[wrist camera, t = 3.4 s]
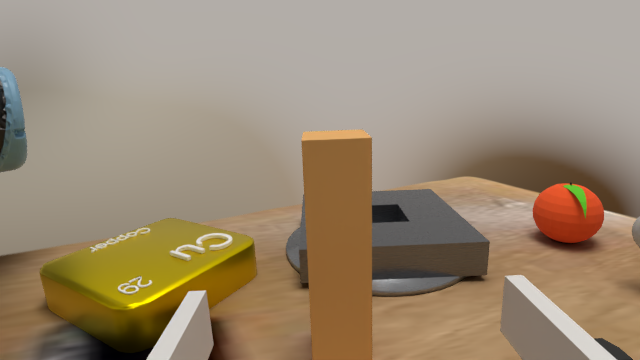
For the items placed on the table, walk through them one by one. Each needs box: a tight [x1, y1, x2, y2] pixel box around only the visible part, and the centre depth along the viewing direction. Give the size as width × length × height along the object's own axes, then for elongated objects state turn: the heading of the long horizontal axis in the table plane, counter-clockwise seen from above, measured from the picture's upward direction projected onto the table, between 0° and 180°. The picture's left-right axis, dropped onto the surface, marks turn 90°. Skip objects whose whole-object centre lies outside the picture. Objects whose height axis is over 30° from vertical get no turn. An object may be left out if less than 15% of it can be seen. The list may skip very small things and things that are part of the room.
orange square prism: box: [302, 130, 372, 360], centre depth 25 cm, size 4×4×16 cm
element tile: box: [40, 218, 257, 353], centre depth 36 cm, size 15×15×5 cm
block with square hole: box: [286, 189, 490, 296], centre depth 44 cm, size 22×22×4 cm
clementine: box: [533, 183, 604, 243], centre depth 42 cm, size 8×7×7 cm
